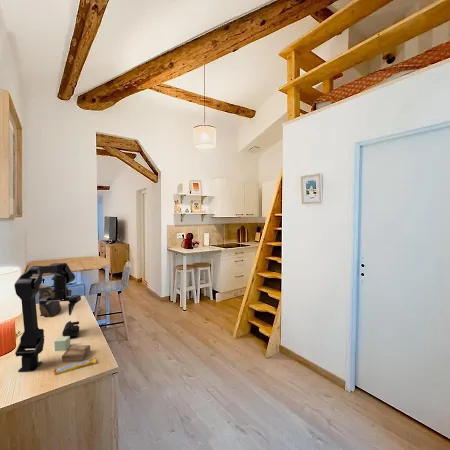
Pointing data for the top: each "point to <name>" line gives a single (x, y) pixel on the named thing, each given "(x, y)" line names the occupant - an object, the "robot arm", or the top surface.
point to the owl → (55, 306)
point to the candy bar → (74, 366)
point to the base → (76, 353)
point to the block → (62, 343)
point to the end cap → (71, 330)
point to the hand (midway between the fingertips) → (60, 315)
